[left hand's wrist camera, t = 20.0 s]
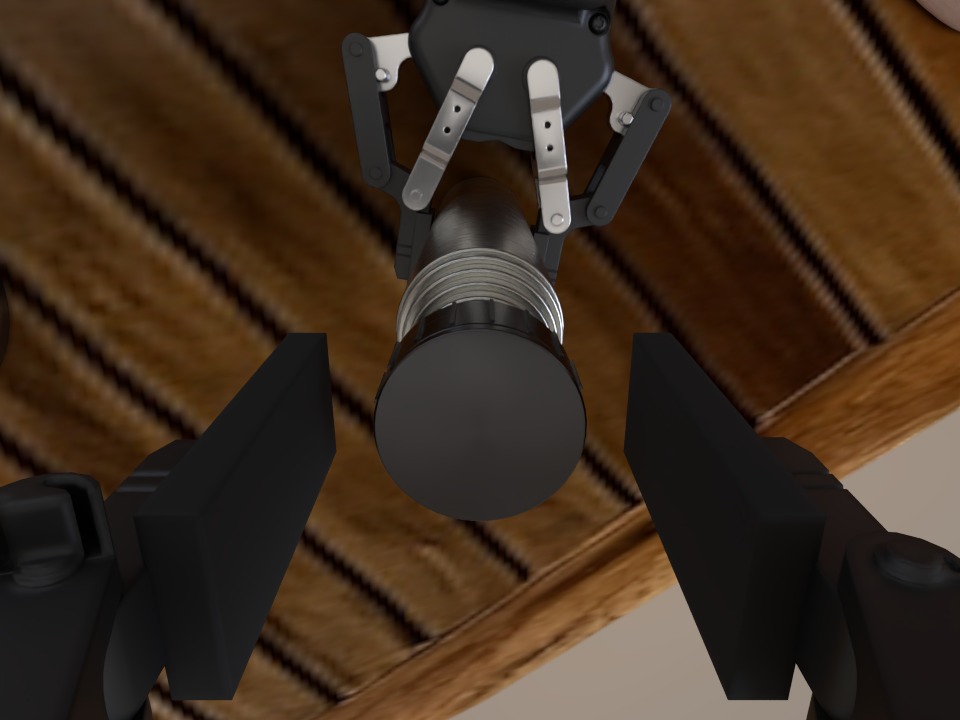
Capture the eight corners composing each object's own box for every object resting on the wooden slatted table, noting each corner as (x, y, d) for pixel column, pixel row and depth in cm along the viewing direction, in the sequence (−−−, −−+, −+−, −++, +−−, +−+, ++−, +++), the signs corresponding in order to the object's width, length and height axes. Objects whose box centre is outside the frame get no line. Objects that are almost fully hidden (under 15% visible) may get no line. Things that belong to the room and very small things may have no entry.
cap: (348, 415, 14) (330, 459, 13) (449, 258, 13) (444, 281, 11) (505, 503, 15) (509, 556, 13) (613, 362, 14) (633, 400, 12)
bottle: (513, 267, 37) (567, 530, 14) (432, 253, 37) (351, 496, 14) (529, 185, 35) (622, 326, 12) (445, 169, 35) (379, 284, 12)
